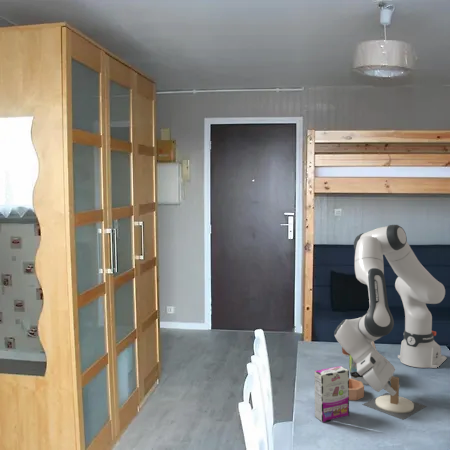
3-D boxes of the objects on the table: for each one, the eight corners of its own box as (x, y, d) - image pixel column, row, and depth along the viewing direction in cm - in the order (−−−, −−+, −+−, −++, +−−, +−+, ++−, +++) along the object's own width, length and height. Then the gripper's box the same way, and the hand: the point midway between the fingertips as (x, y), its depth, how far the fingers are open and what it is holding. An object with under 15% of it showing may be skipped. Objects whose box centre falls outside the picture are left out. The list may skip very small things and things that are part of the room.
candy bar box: (340, 410, 180) (341, 365, 179) (349, 416, 175) (350, 369, 174) (313, 416, 175) (313, 370, 174) (321, 422, 171) (322, 374, 170)
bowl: (344, 387, 201) (344, 376, 200) (368, 395, 192) (369, 384, 192) (326, 394, 194) (327, 383, 193) (351, 404, 185) (351, 392, 185)
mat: (386, 394, 194) (386, 392, 194) (426, 407, 182) (426, 406, 182) (362, 406, 184) (362, 404, 184) (403, 421, 172) (403, 419, 171)
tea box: (376, 387, 201) (377, 350, 200) (350, 385, 203) (350, 348, 202) (373, 373, 216) (373, 339, 214) (348, 371, 218) (349, 337, 216)
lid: (379, 395, 192) (380, 369, 191) (416, 402, 185) (417, 375, 184) (371, 408, 180) (372, 380, 179) (410, 416, 174) (411, 387, 173)
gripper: (369, 356, 196) (395, 386, 192) (355, 373, 179) (383, 406, 175) (381, 346, 194) (408, 376, 190) (368, 363, 176) (397, 396, 172)
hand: (396, 391), depth 182 cm, fingers open, 5 cm apart
